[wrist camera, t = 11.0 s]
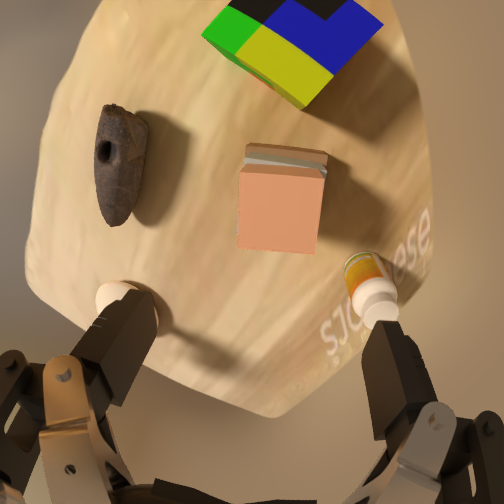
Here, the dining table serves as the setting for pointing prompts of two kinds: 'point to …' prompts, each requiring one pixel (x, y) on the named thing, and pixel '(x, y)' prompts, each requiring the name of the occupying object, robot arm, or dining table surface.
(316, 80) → the puzzle toy
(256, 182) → the clay block
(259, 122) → the dining table surface
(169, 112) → the dining table surface
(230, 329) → the dining table surface
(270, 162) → the tower top
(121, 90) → the dining table surface
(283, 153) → the tower base
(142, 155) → the perforated stone tool
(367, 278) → the supplement bottle
